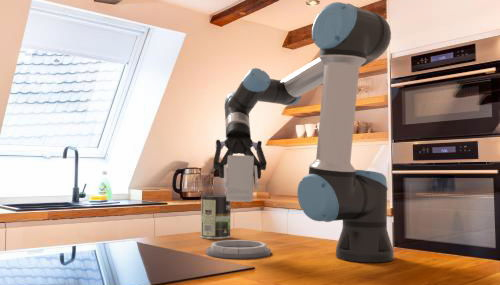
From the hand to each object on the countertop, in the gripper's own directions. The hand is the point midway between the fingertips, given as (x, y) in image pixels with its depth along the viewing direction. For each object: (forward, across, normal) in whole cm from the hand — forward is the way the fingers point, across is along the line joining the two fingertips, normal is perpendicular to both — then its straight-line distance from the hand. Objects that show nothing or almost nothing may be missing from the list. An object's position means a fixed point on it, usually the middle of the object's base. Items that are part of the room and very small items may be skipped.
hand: (241, 185), depth 134 cm
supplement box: (+1, 0, -6) cm, 6 cm away
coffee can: (-11, +6, -39) cm, 41 cm away
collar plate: (+11, 0, -16) cm, 19 cm away
